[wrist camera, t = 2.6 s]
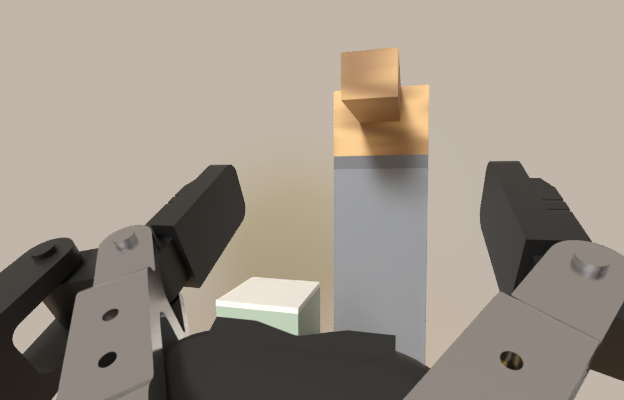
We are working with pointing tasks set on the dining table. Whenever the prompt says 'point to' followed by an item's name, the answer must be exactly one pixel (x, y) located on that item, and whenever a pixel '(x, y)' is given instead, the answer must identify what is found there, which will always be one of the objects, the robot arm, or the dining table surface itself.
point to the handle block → (378, 107)
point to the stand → (381, 247)
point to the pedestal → (275, 304)
